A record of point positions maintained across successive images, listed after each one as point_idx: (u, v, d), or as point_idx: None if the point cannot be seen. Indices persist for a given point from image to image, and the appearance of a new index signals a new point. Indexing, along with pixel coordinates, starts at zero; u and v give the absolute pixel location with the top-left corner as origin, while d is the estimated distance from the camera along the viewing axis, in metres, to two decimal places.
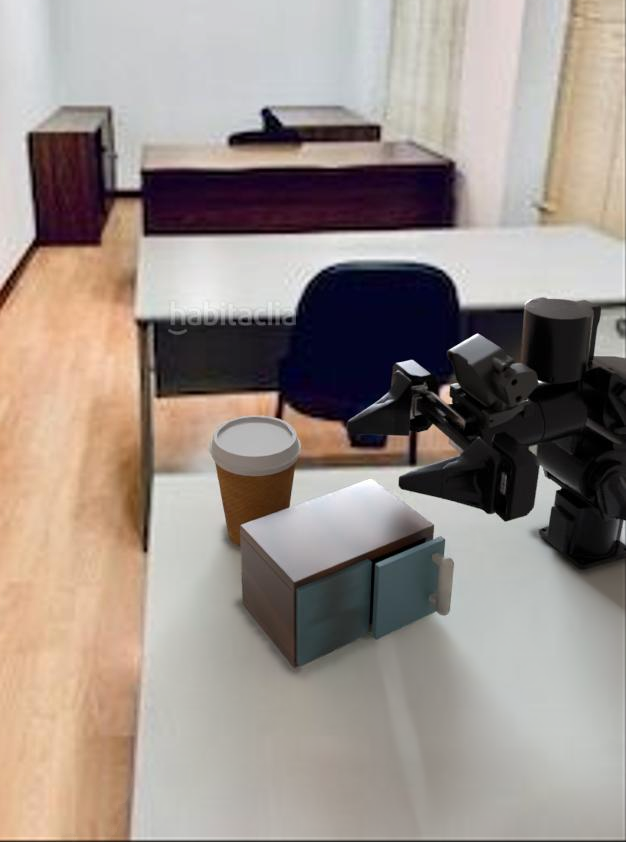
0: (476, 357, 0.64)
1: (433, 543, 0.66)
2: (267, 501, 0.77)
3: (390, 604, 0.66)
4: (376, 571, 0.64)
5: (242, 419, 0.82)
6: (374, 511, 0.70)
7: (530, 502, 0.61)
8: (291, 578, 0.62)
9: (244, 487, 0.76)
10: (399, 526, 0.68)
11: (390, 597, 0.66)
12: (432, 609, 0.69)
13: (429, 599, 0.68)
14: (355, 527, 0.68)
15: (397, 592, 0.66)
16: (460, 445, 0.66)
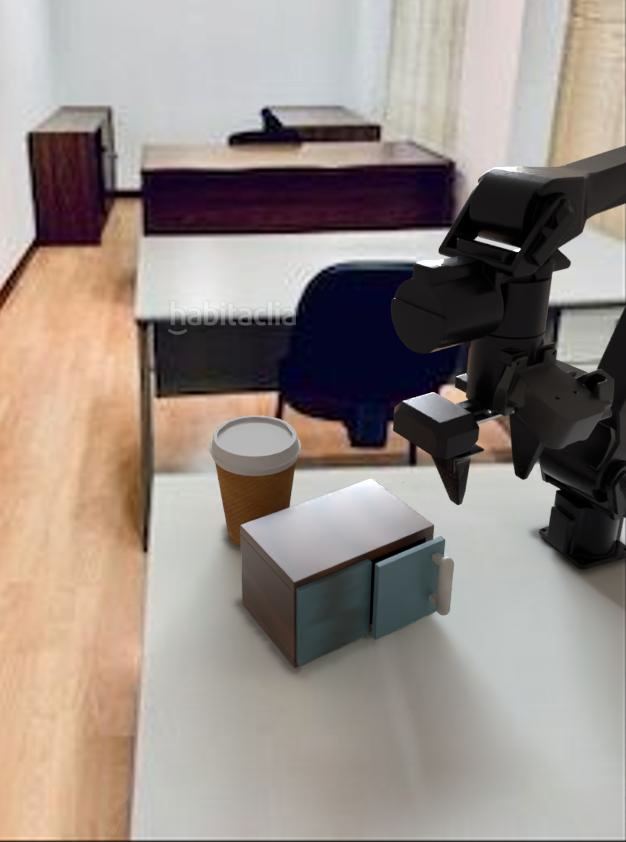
0: (586, 432, 0.58)
1: (433, 543, 0.66)
2: (267, 501, 0.77)
3: (390, 604, 0.66)
4: (376, 571, 0.64)
5: (242, 419, 0.82)
6: (374, 511, 0.70)
7: None
8: (291, 578, 0.62)
9: (244, 487, 0.76)
10: (399, 526, 0.68)
11: (390, 597, 0.66)
12: (432, 609, 0.69)
13: (429, 599, 0.68)
14: (355, 527, 0.68)
15: (397, 592, 0.66)
16: None
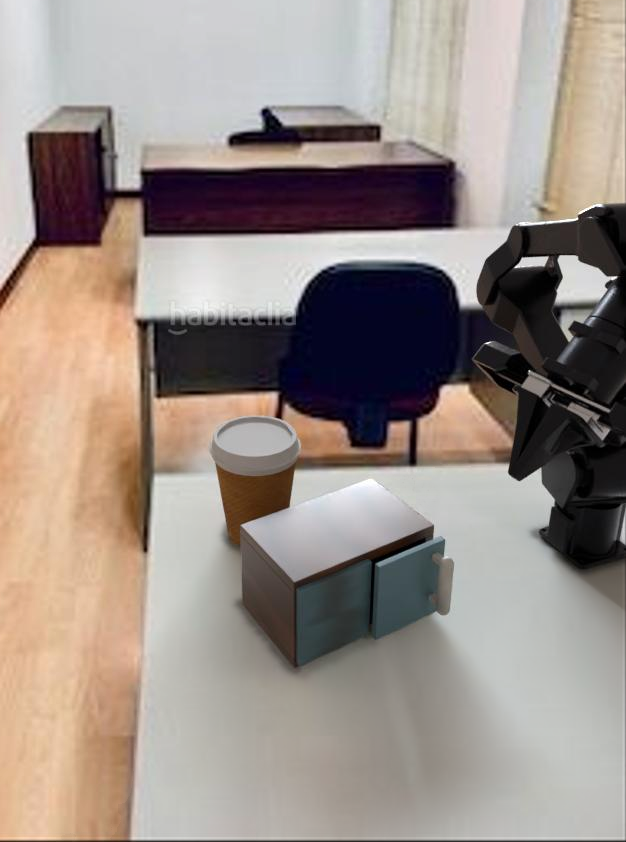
0: None
1: (433, 543, 0.66)
2: (267, 501, 0.77)
3: (390, 604, 0.66)
4: (376, 571, 0.64)
5: (242, 419, 0.82)
6: (374, 511, 0.70)
7: None
8: (291, 578, 0.62)
9: (244, 487, 0.76)
10: (399, 526, 0.68)
11: (390, 597, 0.66)
12: (432, 609, 0.69)
13: (429, 599, 0.68)
14: (355, 527, 0.68)
15: (397, 592, 0.66)
16: None
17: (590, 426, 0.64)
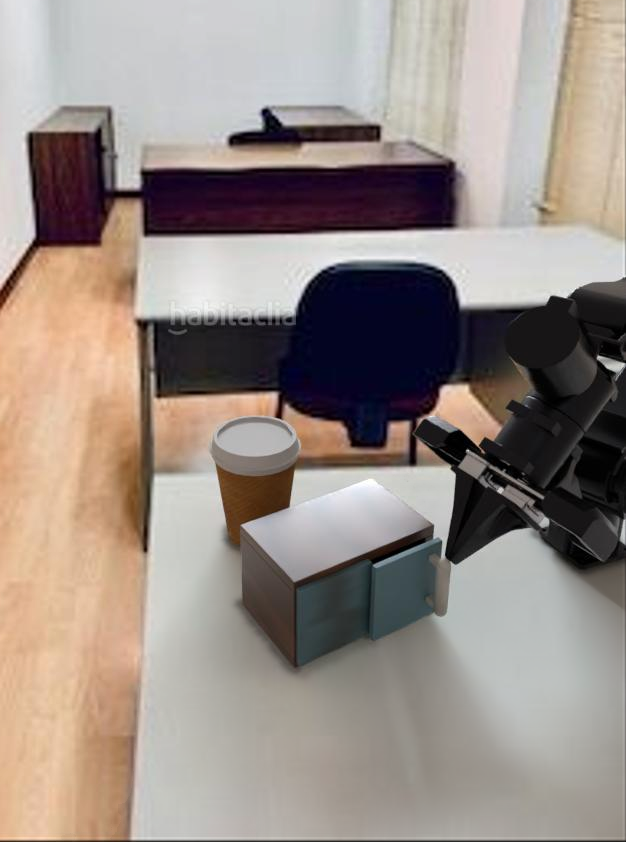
0: None
1: (430, 544, 0.66)
2: (267, 501, 0.77)
3: (387, 605, 0.66)
4: (373, 572, 0.64)
5: (242, 419, 0.82)
6: (374, 511, 0.70)
7: None
8: (291, 578, 0.62)
9: (244, 487, 0.76)
10: (399, 526, 0.68)
11: (387, 599, 0.65)
12: (429, 610, 0.69)
13: (426, 600, 0.68)
14: (355, 527, 0.68)
15: (394, 593, 0.66)
16: None
17: (525, 512, 0.63)
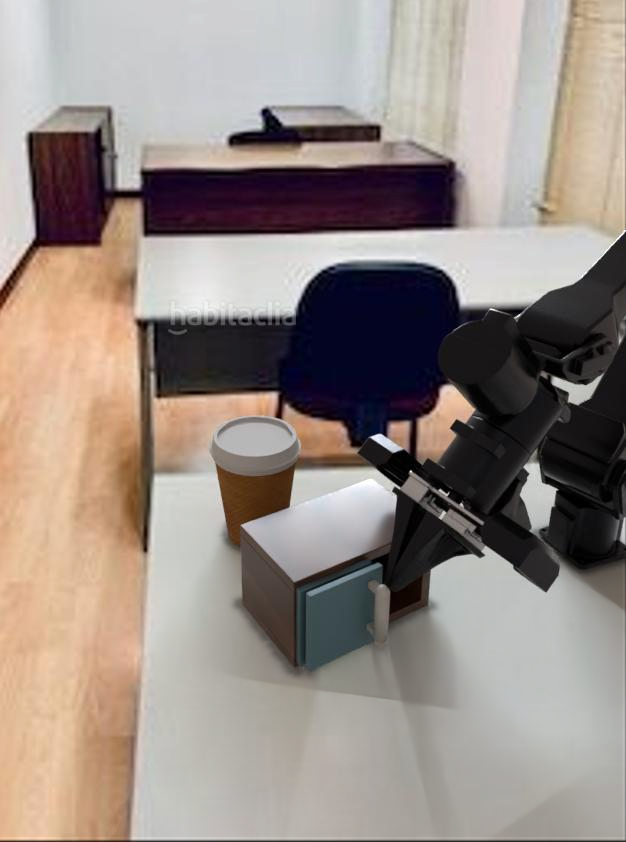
0: None
1: (369, 570, 0.63)
2: (267, 501, 0.77)
3: (324, 634, 0.63)
4: (307, 600, 0.61)
5: (242, 419, 0.82)
6: (374, 511, 0.70)
7: None
8: (291, 578, 0.62)
9: (244, 487, 0.76)
10: None
11: (323, 627, 0.62)
12: (371, 638, 0.66)
13: (367, 628, 0.65)
14: (355, 527, 0.68)
15: (331, 622, 0.63)
16: None
17: (466, 538, 0.60)
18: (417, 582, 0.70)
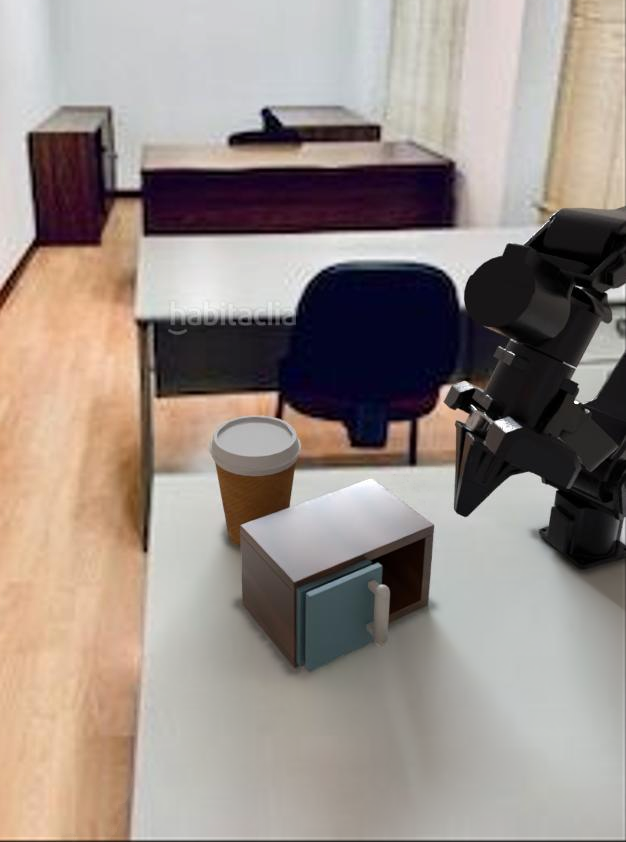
0: None
1: (369, 570, 0.63)
2: (267, 501, 0.77)
3: (323, 634, 0.63)
4: (306, 601, 0.61)
5: (242, 419, 0.82)
6: (374, 511, 0.70)
7: None
8: (291, 578, 0.62)
9: (244, 487, 0.76)
10: (399, 526, 0.68)
11: (323, 628, 0.62)
12: (371, 638, 0.66)
13: (366, 628, 0.65)
14: (355, 527, 0.68)
15: (331, 622, 0.63)
16: None
17: None
18: (417, 582, 0.70)
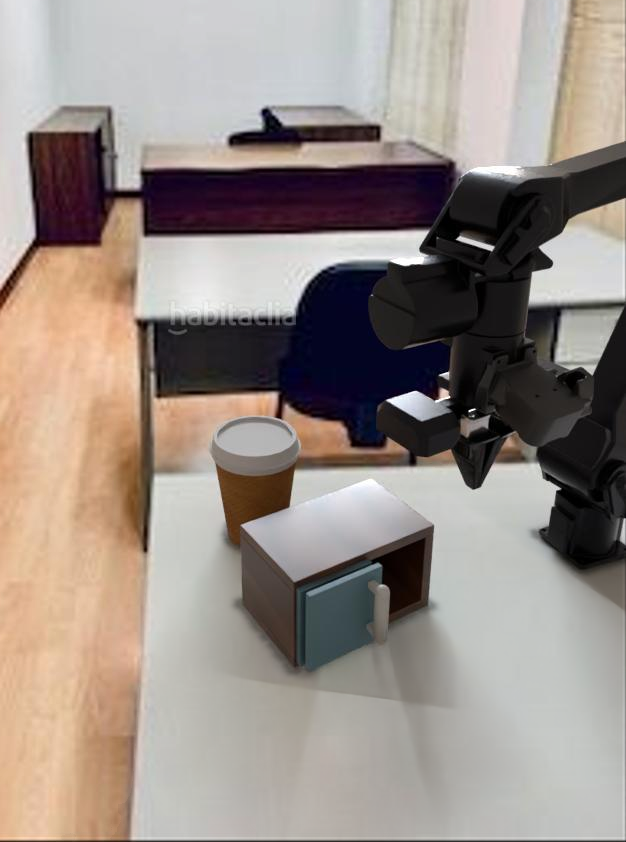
0: (566, 430, 0.59)
1: (369, 570, 0.63)
2: (267, 501, 0.77)
3: (323, 634, 0.63)
4: (306, 601, 0.61)
5: (242, 419, 0.82)
6: (374, 511, 0.70)
7: None
8: (291, 578, 0.62)
9: (244, 487, 0.76)
10: (399, 526, 0.68)
11: (323, 628, 0.62)
12: (371, 638, 0.66)
13: (366, 628, 0.65)
14: (355, 527, 0.68)
15: (331, 622, 0.63)
16: None
17: None
18: (417, 582, 0.70)
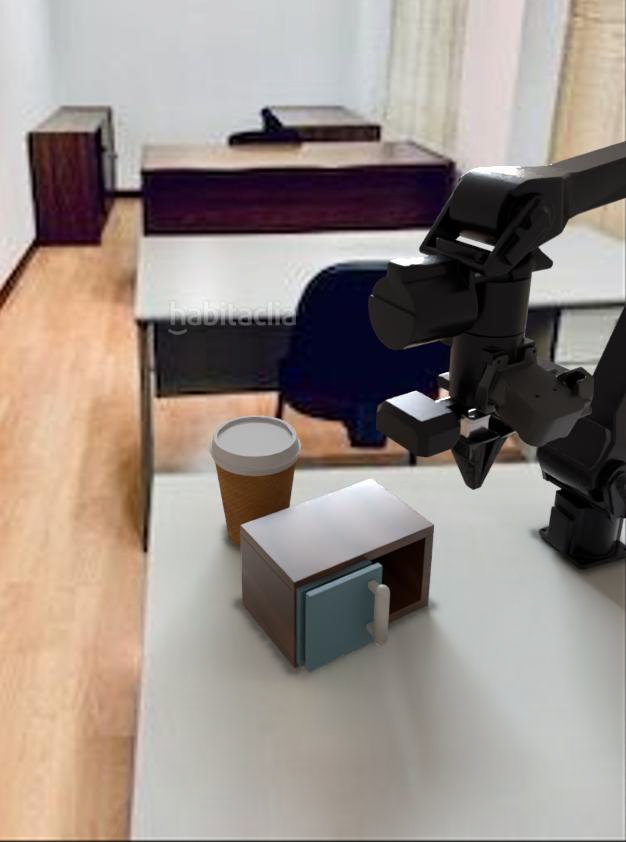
0: (566, 430, 0.59)
1: (369, 570, 0.63)
2: (267, 501, 0.77)
3: (323, 634, 0.63)
4: (306, 601, 0.61)
5: (242, 419, 0.82)
6: (374, 511, 0.70)
7: None
8: (291, 578, 0.62)
9: (244, 487, 0.76)
10: (399, 526, 0.68)
11: (323, 628, 0.62)
12: (371, 638, 0.66)
13: (366, 628, 0.65)
14: (355, 527, 0.68)
15: (331, 622, 0.63)
16: None
17: None
18: (417, 582, 0.70)
